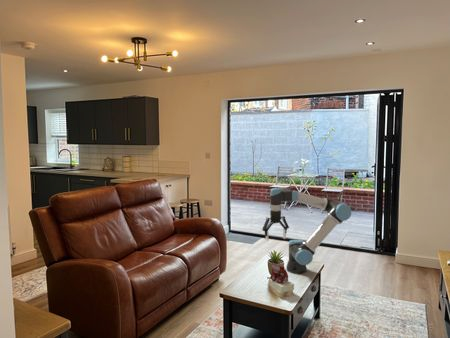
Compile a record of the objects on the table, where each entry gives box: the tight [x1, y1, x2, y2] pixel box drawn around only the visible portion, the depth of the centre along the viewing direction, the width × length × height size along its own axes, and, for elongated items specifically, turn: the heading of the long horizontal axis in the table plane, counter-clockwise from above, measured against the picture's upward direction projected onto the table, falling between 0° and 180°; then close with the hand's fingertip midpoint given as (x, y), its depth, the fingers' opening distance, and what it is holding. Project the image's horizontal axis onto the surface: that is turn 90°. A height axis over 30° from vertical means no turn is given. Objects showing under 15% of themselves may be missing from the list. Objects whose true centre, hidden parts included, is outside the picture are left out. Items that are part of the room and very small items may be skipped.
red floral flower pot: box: [270, 263, 289, 284], centre depth 229 cm, size 7×12×10 cm, turn 45°
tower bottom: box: [268, 284, 294, 299], centre depth 230 cm, size 10×14×4 cm
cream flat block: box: [268, 278, 295, 293], centre depth 229 cm, size 10×14×4 cm
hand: (275, 239), depth 249 cm, fingers open, 13 cm apart
